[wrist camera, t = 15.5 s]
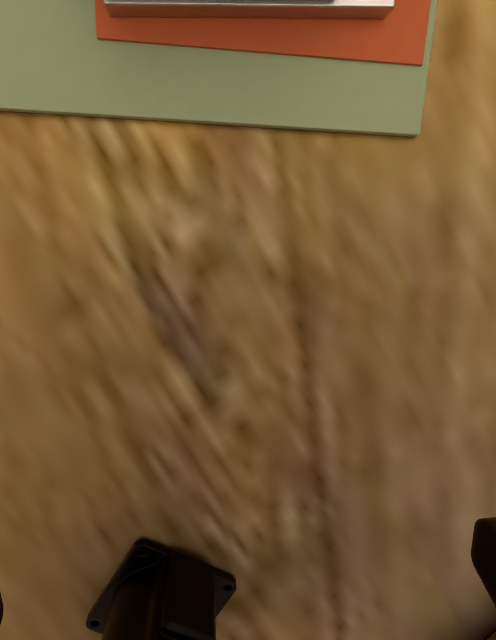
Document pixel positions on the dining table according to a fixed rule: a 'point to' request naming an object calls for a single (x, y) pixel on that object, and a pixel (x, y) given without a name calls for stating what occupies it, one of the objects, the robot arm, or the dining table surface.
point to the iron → (252, 8)
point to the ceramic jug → (492, 636)
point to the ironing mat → (219, 67)
